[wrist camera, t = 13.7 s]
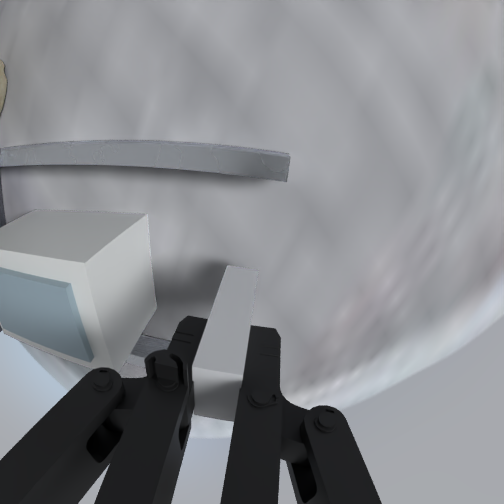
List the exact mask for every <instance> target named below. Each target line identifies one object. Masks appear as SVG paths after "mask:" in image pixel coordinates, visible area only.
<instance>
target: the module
mask: <svg viewBox="0 0 504 504" xmlns="http://www.w3.org/2000/svg"><path fill="white" fill-rule="evenodd" d="M156 309H157V303H156V296H155V288H154V280H153V271H152V262H151V251H150V240H149V226H148V214H144V213H124V212H101V211H73V210H33V211H31V212H29V213H27V214H25V215H23V216H21V217H19V218H17V219H16V220H14V221H12V222H10V223H8V224H6V225H4V226H3V227H1V228H0V325H1V328H2V330H3V332H4V334H6V335H8V336H11V337H12V338H15V339H17V340H19V341H21V342H23V343H26V344H28V345H30V346H32V347H35V348H37V349H39V350H42V351H44V352H47V353H49V354H52V355H54V356H57V357H60V358H62V359H65V360H68V361H70V362H73V363H76V364H79V365H82V366H85V367H88V368H91V369H96V368H100V367H108V368H111V369H114V370H115V371H116V372H118V373H119V372H120V370H121V369H122V367H123V365H124V363H125V362H126V360H127V358H128V356H129V355H130V353H131V351H132V349H133V348H134V346H135V344H136V343H137V341H138V339H139V337H140V336H141V334H142V332H143V331H144V329H145V327H146V326H147V324H148V322H149V321H150V319H151V317H152V316H153V314H154V312H155V311H156Z"/></svg>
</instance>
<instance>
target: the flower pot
mask: <svg viewBox="0 0 504 504" xmlns="http://www.w3.org/2000/svg"><path fill="white" fill-rule="evenodd" d="M4 67H5V65H4V63H3V62H2V61H1V60H0V114H1V111H2V108H3V104H4V100H5V95H6V89H7V79H6V76H5V73H4Z"/></svg>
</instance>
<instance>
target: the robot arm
mask: <svg viewBox="0 0 504 504" xmlns="http://www.w3.org/2000/svg"><path fill="white" fill-rule="evenodd" d="M258 271H259V270H258V269H251V268H244V267H237V266H231V265H227V267H226V270H225V273H224V276H223V279H222V281H221V284H220V287H219V290H218V293H217V296H216V298H215V301H214V304H213V307H212V310H211V313H210V315H209V318H208V319H204V318H198V317H193V316H187V317H186V318H184V319H183V320H182V321H181V322H179V325H178V327H177V329H176V331H175V333H174V335H173V338H172V340H171V342H170V344H169V346H168V348H167V350H165V349H163V350H158V351H154V352H152V353H151V354H149V355H148V356H147V357H146V358H145V359H144V362H145V367H146V372H147V376H146V377H143V378H121V376H120V374H119V373H118V372H116V371H115V370H114V369H111V368H108V367H100V368H96V369H93V370H92V371H90V372H89V373H87V374H86V375H85V376H84V377H83V378H82V379H81V380H80V381H79V382H78V383H77V384H76V385H75V386H74V387H73V388H72V389H71V390H70V391H69V392H68V393H67V394H66V395H65V396H64V397H63V398H62V399H61V400H60V401H59V402H58V403H57V404H56V405H55V406H54V407H52V408H51V409H50V411H48V413H46V414H45V416H44V417H43V418H41V419H40V420H39V421H38V422H37V423H36V424H35V425H34V426H33V428H31V429H30V430H29V432H28V433H27V434H26V435H25V436H24V437H23V438H22V439H21V440H20V441H19V442H18V443H17V444H16V445H15V446H14V447H13V448H12V449H11V450H10V451H9V452H8V453H7V454H6V455H5V456H4V457H3V458H2V459H1V460H0V504H78V503H79V501H80V500H81V499H82V498H83V496H84V495H85V494H86V493H87V491H88V490H89V489H90V488H91V486H92V485H93V484H94V483H95V481H96V480H97V479H98V478H99V476H100V475H101V474H102V473H103V471H104V470H105V469H106V467H107V466H108V465H109V464H110V465H109V467H108V470H107V472H106V475H105V477H104V480H103V482H102V485H101V487H100V490H99V492H98V495H97V498H96V500H95V503H94V504H171V501H172V498H173V494H174V490H175V486H176V482H177V478H178V475H179V471H180V467H181V464H182V460H183V456H184V452H185V448H186V444H187V441H188V437H189V434H190V430H191V417H192V414H193V410H194V415H199V416H204V417H209V418H215V419H220V420H226V421H233V422H234V426H233V432H232V438H231V444H230V450H229V456H228V462H227V469H226V474H225V480H224V485H223V491H222V497H221V503H220V504H278V492H279V472H280V459H283V460H285V461H286V463H287V467H288V470H289V474H290V478H291V482H292V485H293V489H294V493H295V497H296V500H297V504H382V503H381V501H380V498H379V496H378V493H377V491H376V489H375V486H374V484H373V481H372V479H371V477H370V474H369V472H368V470H367V467H366V465H365V462H364V460H363V458H362V455H361V453H360V451H359V448H358V446H357V444H356V441H355V439H354V437H353V434H352V432H351V430H350V428H349V425H348V423H347V420H346V418H345V417H344V415H343V414H342V413H341V412H340V411H339V410H337V409H336V408H334V407H330V406H320V405H319V406H316V407H313V408H312V409H310V410H307V409H304V408H301V407H298V406H296V405H294V404H292V403H290V402H289V401H287V400H286V399H285V397H284V396H283V395H282V393H281V391H280V348H281V338H280V336H279V334H278V332H277V330H276V329H274V328H267V327H260V326H253V325H251V319H252V313H253V306H254V299H255V292H256V285H257V278H258Z"/></svg>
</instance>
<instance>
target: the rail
mask: <svg viewBox="0 0 504 504" xmlns="http://www.w3.org/2000/svg"><path fill="white" fill-rule="evenodd" d="M67 164H70V165H118V166H139V167H156V168H170V169H182V170H193V171H204V172H213V173H223V174H231V175H239V176H247V177H255V178H262V179H269V180H276V181H283V182H287V177H288V171H289V164H290V155H289V153H283V152H276V151H269V150H262V149H254V148H245V147H237V146H227V145H217V144H205V143H191V142H175V141H150V140H94V141H70V142H54V143H42V144H32V145H22V146H14V147H6V148H0V167H2V166H21V165H67ZM4 225H6V222H5V215H4V207H3V199H2V189H1V177H0V228H1V227H3V226H4ZM1 331H2V328H1V325H0V332H1ZM170 342H171V341H167V340H162V339H158V338H153V337H149V336H145V335H141V336H140V337H139V339H138V341H137V343H136V344H135V346H134V348H133V349H132V351H131V353H130V355H129V356H128V358H127V360H126V363H129V364H133V365H136V366H140V367H143V368H146V367H145V362H144V359H145V358H146V357H147V356H148V355H149V354H151V353H152V352H154V351H158V350H163V349H165V350H167V348H168V346H169V344H170Z"/></svg>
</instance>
